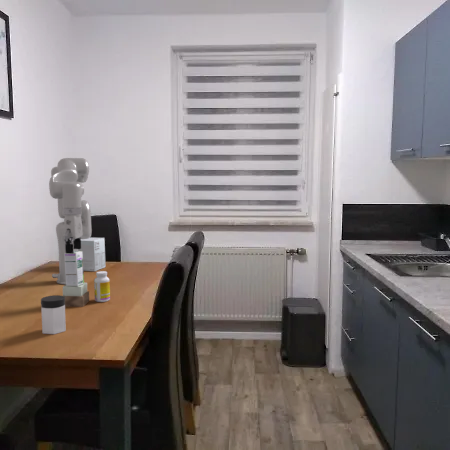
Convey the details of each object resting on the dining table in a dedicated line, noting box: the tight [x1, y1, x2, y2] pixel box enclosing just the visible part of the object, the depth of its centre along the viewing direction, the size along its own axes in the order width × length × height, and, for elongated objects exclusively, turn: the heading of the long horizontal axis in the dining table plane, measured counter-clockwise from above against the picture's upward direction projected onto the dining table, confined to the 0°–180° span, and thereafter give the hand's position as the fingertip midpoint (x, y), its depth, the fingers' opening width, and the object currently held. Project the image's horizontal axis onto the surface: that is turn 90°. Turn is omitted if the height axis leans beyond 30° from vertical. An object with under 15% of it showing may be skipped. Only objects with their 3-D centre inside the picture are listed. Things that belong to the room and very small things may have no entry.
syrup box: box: [64, 251, 85, 286], centre depth 199 cm, size 6×6×14 cm
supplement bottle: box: [93, 270, 111, 303], centre depth 205 cm, size 7×7×13 cm
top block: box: [62, 282, 88, 296], centre depth 200 cm, size 8×8×4 cm
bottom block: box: [64, 290, 90, 308], centre depth 200 cm, size 9×9×4 cm
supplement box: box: [78, 237, 106, 272], centre depth 272 cm, size 17×13×18 cm
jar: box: [40, 294, 67, 335], centre depth 166 cm, size 9×8×12 cm
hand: (73, 251), depth 198 cm, fingers open, 9 cm apart
